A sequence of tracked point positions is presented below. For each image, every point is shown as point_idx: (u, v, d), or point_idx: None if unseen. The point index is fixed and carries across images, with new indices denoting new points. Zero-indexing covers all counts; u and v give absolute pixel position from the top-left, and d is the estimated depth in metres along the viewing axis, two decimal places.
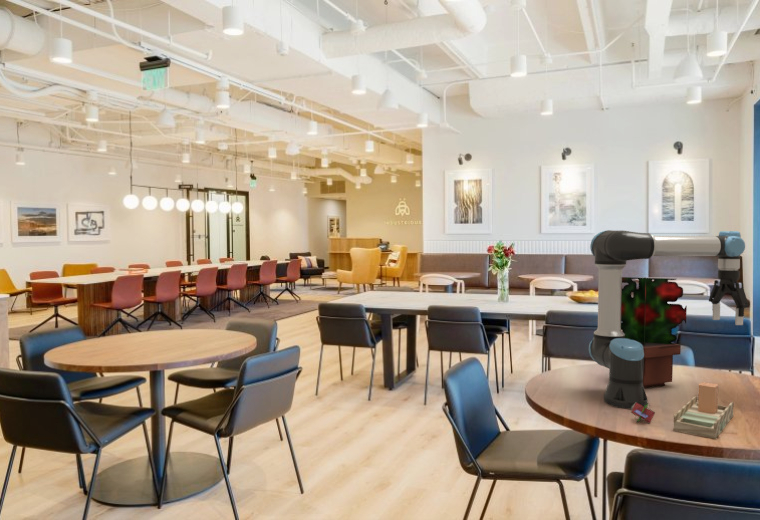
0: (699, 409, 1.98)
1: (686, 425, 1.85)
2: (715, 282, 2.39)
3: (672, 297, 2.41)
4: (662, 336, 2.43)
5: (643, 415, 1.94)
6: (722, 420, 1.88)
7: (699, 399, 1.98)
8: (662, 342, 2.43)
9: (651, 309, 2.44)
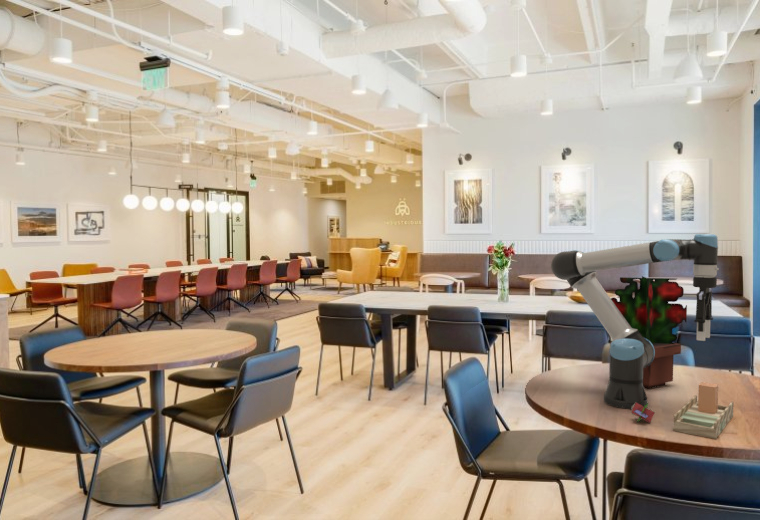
0: (699, 409, 1.98)
1: (686, 425, 1.85)
2: None
3: (672, 297, 2.42)
4: (663, 336, 2.43)
5: (643, 415, 1.94)
6: (722, 420, 1.88)
7: (699, 399, 1.98)
8: (663, 342, 2.43)
9: None
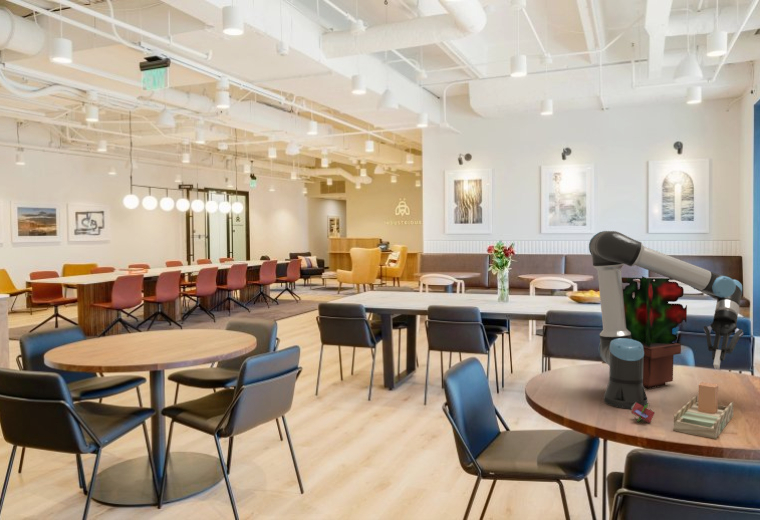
0: (699, 409, 1.98)
1: (686, 425, 1.85)
2: (705, 327, 2.17)
3: (672, 297, 2.42)
4: (663, 336, 2.43)
5: (643, 415, 1.94)
6: (722, 420, 1.88)
7: (699, 399, 1.98)
8: (663, 342, 2.43)
9: None
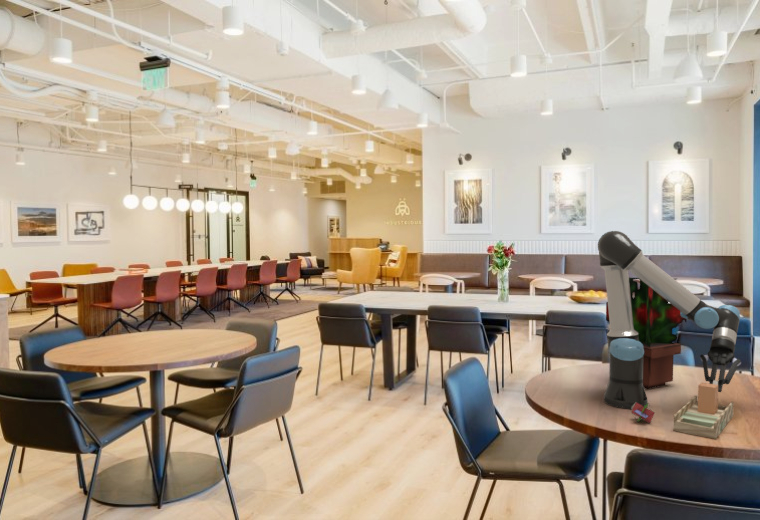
0: (699, 409, 1.98)
1: (686, 425, 1.85)
2: (702, 356, 2.11)
3: None
4: (663, 336, 2.43)
5: (643, 415, 1.94)
6: (722, 420, 1.88)
7: (699, 399, 1.98)
8: (663, 342, 2.43)
9: None
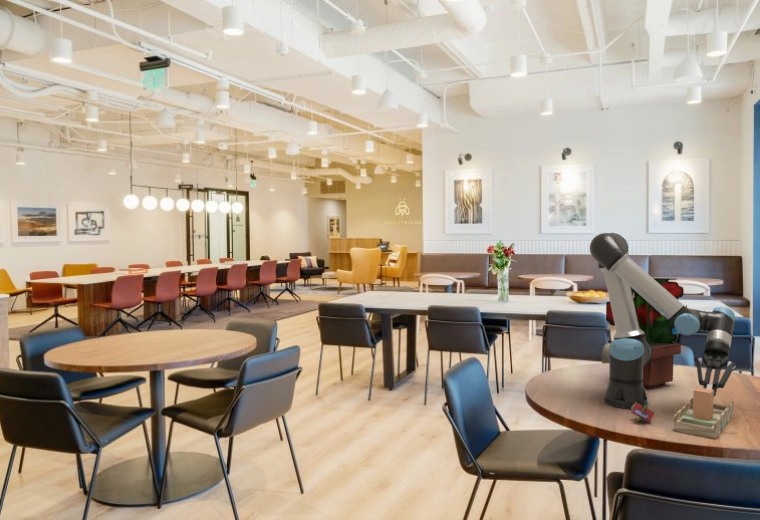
0: (694, 415, 1.91)
1: (686, 425, 1.85)
2: (696, 359, 2.05)
3: None
4: (663, 336, 2.43)
5: (643, 415, 1.94)
6: (722, 420, 1.88)
7: (694, 405, 1.91)
8: (663, 342, 2.43)
9: None
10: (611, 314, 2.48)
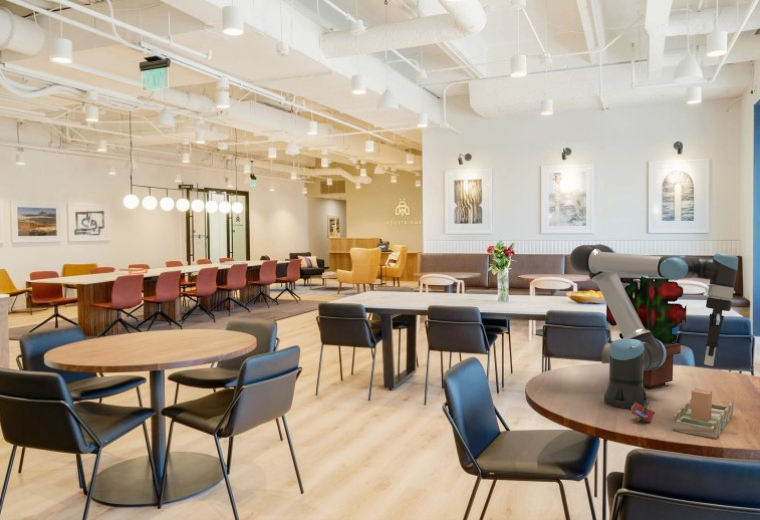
0: (692, 417, 1.90)
1: (686, 425, 1.85)
2: None
3: (672, 297, 2.42)
4: (663, 336, 2.43)
5: (643, 415, 1.94)
6: (722, 420, 1.88)
7: (692, 406, 1.90)
8: (663, 342, 2.44)
9: None
10: (611, 314, 2.47)
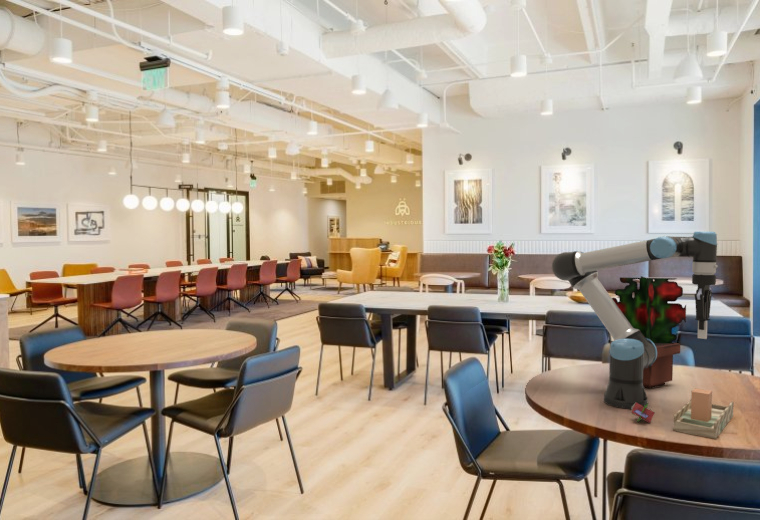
0: (692, 417, 1.90)
1: (686, 425, 1.85)
2: None
3: (672, 297, 2.42)
4: (662, 336, 2.44)
5: (643, 415, 1.94)
6: (722, 420, 1.88)
7: (692, 406, 1.90)
8: (662, 342, 2.44)
9: None
10: None
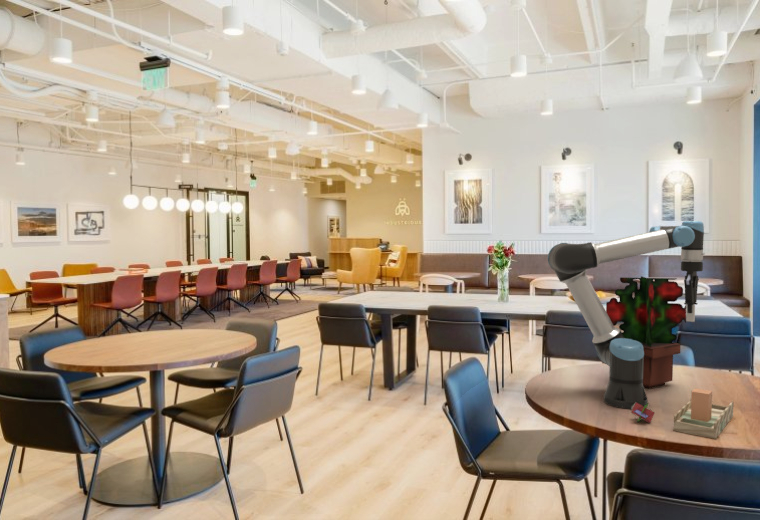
0: (692, 417, 1.90)
1: (686, 425, 1.85)
2: None
3: (672, 297, 2.42)
4: (663, 336, 2.44)
5: (643, 415, 1.94)
6: (722, 420, 1.88)
7: (692, 406, 1.90)
8: (662, 342, 2.44)
9: None
10: (611, 314, 2.48)
